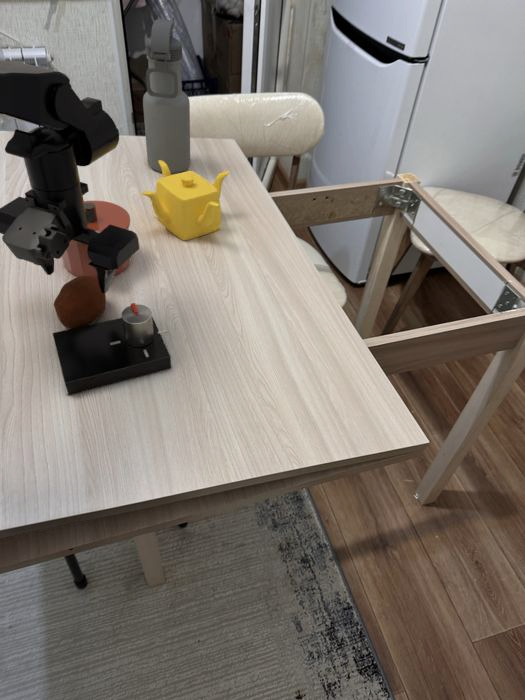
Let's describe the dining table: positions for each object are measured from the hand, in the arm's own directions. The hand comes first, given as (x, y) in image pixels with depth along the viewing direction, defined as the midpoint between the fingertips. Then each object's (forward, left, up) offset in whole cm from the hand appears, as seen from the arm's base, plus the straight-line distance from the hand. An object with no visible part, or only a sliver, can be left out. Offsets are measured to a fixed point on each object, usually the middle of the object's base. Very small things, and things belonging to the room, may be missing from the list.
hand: (77, 282), depth 70 cm
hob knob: (+6, -10, -4) cm, 12 cm away
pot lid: (+5, +14, +1) cm, 15 cm away
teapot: (+24, +21, -7) cm, 33 cm away
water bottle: (+28, +46, -7) cm, 54 cm away
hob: (+2, -10, -6) cm, 12 cm away
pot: (+5, +14, -6) cm, 16 cm away
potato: (0, 0, -7) cm, 7 cm away
